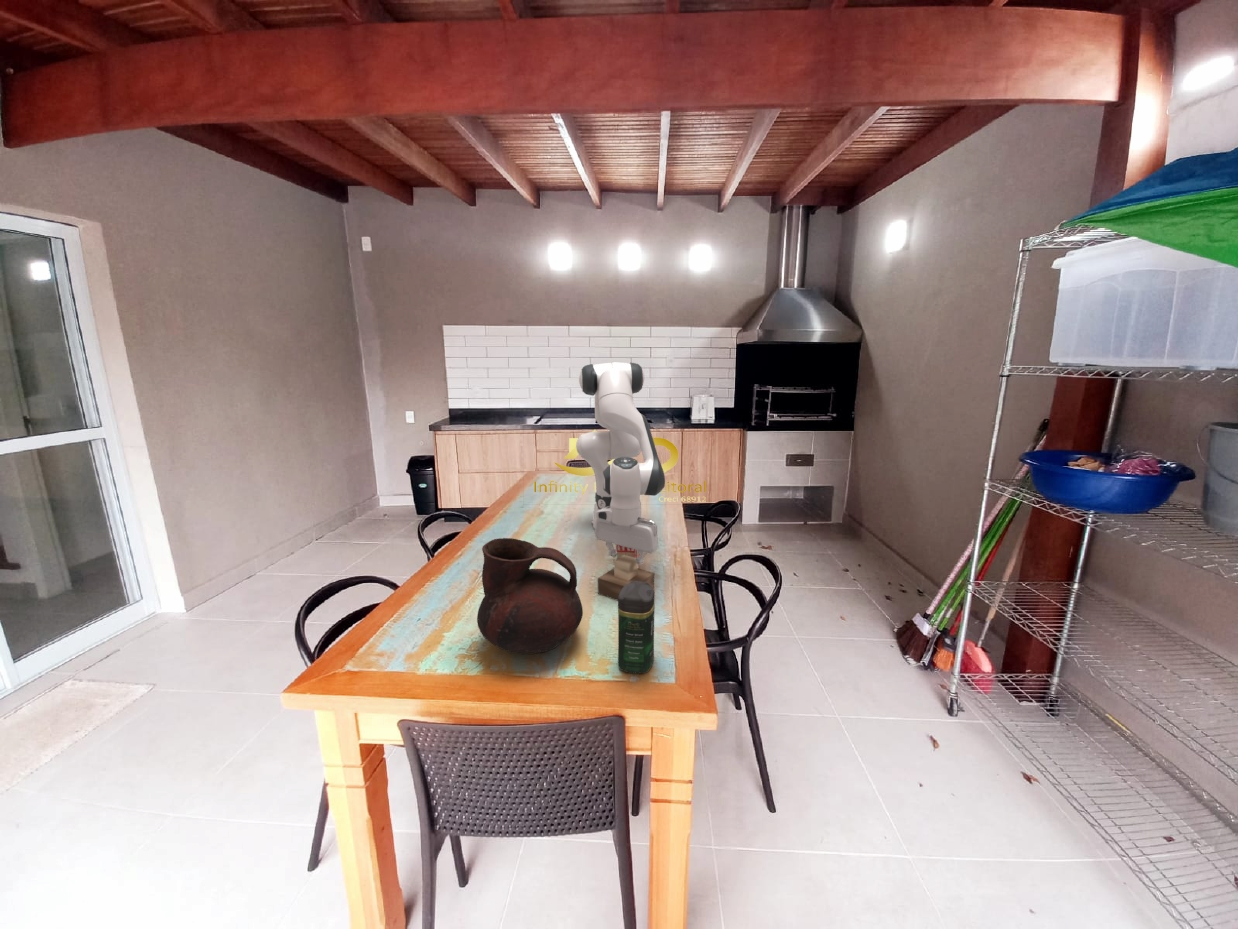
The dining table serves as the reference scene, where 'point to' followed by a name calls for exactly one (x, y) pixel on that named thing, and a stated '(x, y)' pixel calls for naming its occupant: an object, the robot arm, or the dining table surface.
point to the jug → (526, 598)
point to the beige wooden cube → (625, 567)
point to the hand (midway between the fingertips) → (626, 559)
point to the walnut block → (621, 582)
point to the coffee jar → (636, 627)
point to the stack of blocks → (626, 551)
